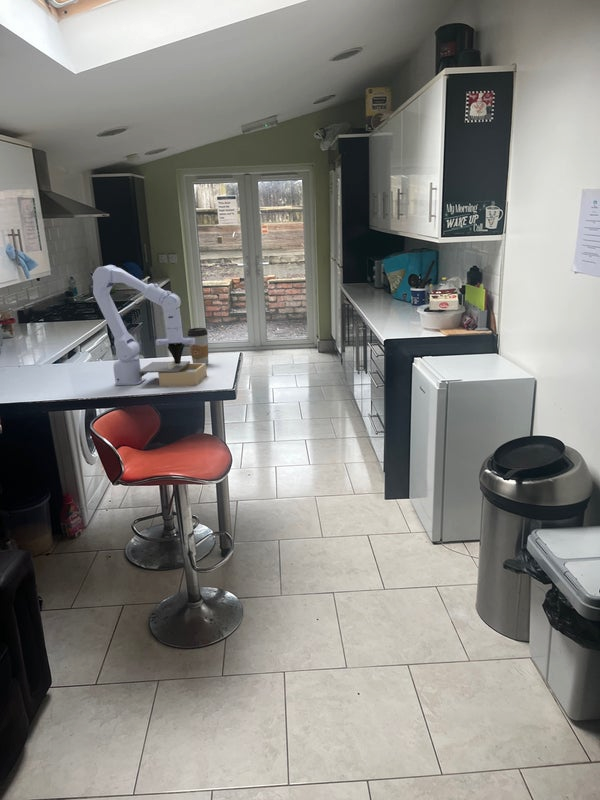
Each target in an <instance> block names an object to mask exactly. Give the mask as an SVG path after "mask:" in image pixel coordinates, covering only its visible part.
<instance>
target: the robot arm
mask: <svg viewBox="0 0 600 800" xmlns="http://www.w3.org/2000/svg"><path fill="white" fill-rule="evenodd" d="M91 278H92V281H93V282H92V293H93V296H94V298H95V301H96V303H97V305H98V308H99V309H100V312H101V313H102V315H103V317H104V319H105V321H106V323H107V325H108V327H109V329H110V332H111V334H112V336H113V338H114V342H113V345H114V347H115V353H116V354H115V355H116V357H117V358H118V359H116V360H114V363H113V374H114V382H115V383H114V386H121V385H122V386H126V385H129V386H132V385H133V386H136V385H140V384H141V383H143V382H144V381H146V380H147V378H146V377H143V376H142V377H141V378H139V373H138V371H139V370H141V369H142V368H141V362H140V356H139V354H140V353H141V345H140V344H139V342H138V341H137V340H135V338H134V337H133V335H132V334H131V333H129V331H128V330H127V327H126V326H125V323H124V321H123V319H122V317H121V315H120V313H119V311H118V309H117V306H116V304H115V302H114V301H113V300H114V299H112V296H111V294H110V292H111V290H112V288H113V286H114V284H120V283H122V284H125V285H127V286H128V287H130V288H133V289H135V290H137V291H140V292H141V293H142V295H143V296H144V298H146V299H148V300H149V301H151V302H153V303H154V304H157V305H159V306H161V308H162V309H163V310H164V320H165V321H164V322H165V330H166V335H167V336H166V338H158V339H156V340H155V345H156V346H161V345H163V346H164V345H167V349H168V351H169V353H171V356H172V358H173V360H174V361H175V364H180V363H181V360H182V355H183V351H184V349H185V345H190V344H195V338H188V337H184V334H183V326H182V325H183V324H182V317H181V308H180V306H181V305H182V301H181V297H180V296H179V295H178V294H177V293H171V291H169V290H165V289H163V288H161V287H159V284H157V283H149V284H148V283H145V282H144V281H142V280H140V279H139V278H137V277H135V276H133V275H132V274H130V273H129V272H127V271H126V270H124V269H122V268H121V267H117V266H116V265H113V264H108V265H104V266H98V267H97V268H96V269H95V270H94V272H93V274H92V276H91Z"/></svg>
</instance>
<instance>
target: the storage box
mask: <svg viewBox="0 0 600 800" xmlns="http://www.w3.org/2000/svg"><path fill="white" fill-rule="evenodd" d="M207 373H208V372H207V365H206V363H195V364H193V363H189V364H188V365H187V366H185V367H184V368H183V369H181V370H180V371H179V372H157V374H158V383H159V387H178V386H179V387H180V386H182V387H183V386H184V387H187V386H191V387H192V386H198V384H200V383H201V382H202V381H203V380H204V379H205V378H207V376H208V374H207Z"/></svg>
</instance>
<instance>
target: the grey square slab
mask: <svg viewBox="0 0 600 800" xmlns="http://www.w3.org/2000/svg"><path fill="white" fill-rule="evenodd" d="M188 364H191V361H190V360H184V361H181V363H180V364H175V361H174V359H173V360H172V361H152V362H151V363H149V364H147V365H146V366H144V367H142V368H141V370H139V371H138V373H139V378H141V377H142V378H143V377H144V376H145V375H147V374H148V373H149V374H150V373H159V372H179V371H180V370H181V369H183V368H184V367H185V366H187V365H188Z"/></svg>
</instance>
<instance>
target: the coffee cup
mask: <svg viewBox="0 0 600 800" xmlns="http://www.w3.org/2000/svg"><path fill="white" fill-rule="evenodd" d="M187 331H188V332H187V338H195V344H189V349H190V354H191V359H192V364H195V363H206V366H207V365H209V344H208V343H209V342H208V335H209V334H208V331H207V329H206V327H194V328H193V327H192V328H189V329H187Z"/></svg>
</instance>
